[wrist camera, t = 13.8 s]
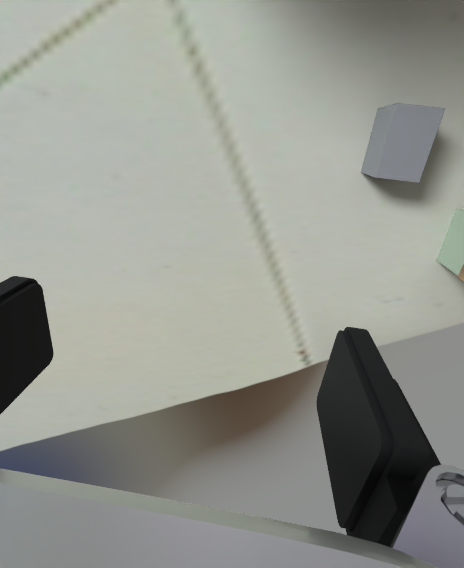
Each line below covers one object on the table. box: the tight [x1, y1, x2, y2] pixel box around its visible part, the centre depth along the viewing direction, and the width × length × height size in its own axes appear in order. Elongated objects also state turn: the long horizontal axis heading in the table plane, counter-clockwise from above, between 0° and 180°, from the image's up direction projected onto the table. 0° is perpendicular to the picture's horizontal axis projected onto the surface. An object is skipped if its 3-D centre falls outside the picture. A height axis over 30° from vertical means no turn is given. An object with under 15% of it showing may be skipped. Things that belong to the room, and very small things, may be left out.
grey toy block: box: [361, 103, 445, 183], centre depth 29 cm, size 6×4×5 cm, turn 174°
